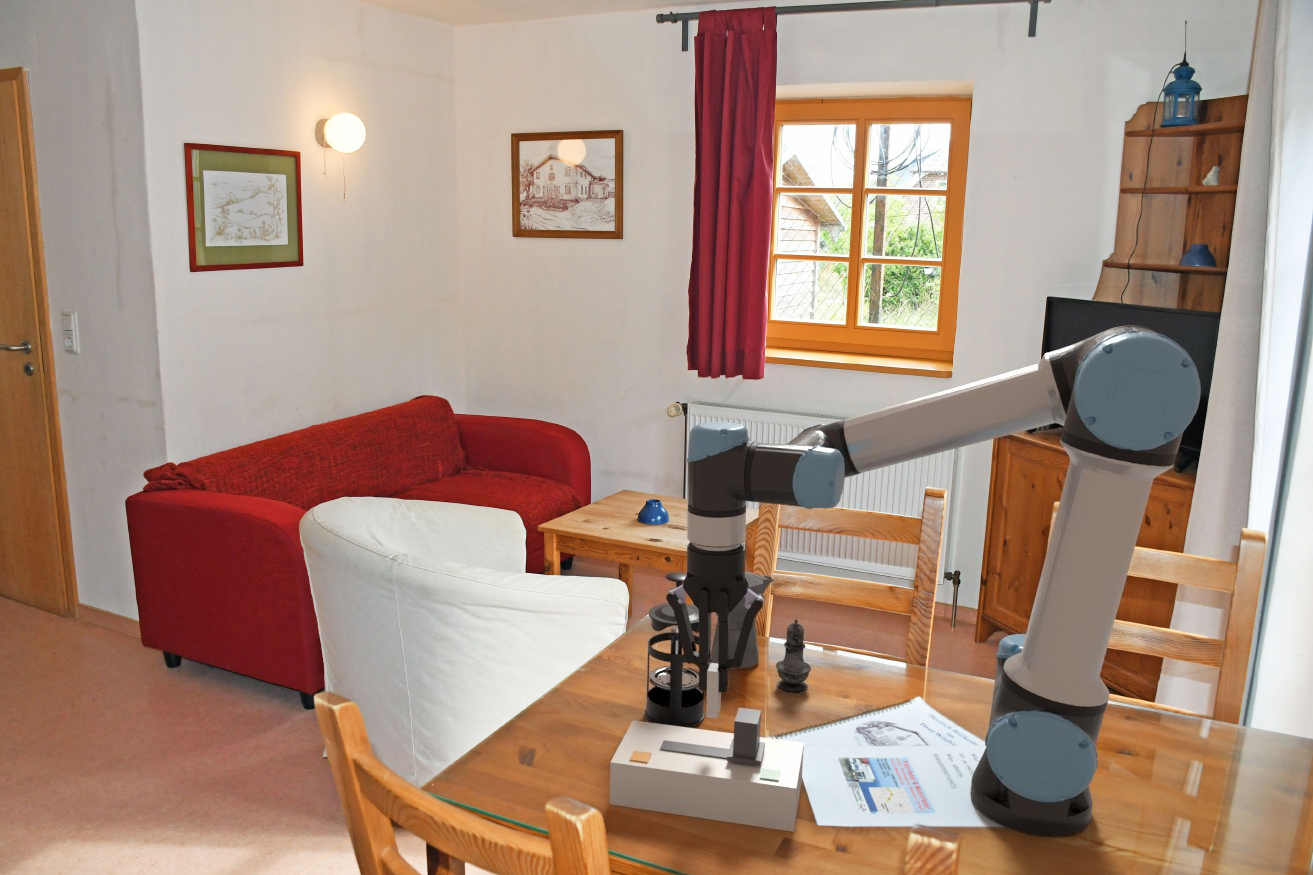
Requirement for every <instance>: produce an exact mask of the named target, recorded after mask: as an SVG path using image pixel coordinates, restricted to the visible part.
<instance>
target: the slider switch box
mask: <svg viewBox="0 0 1313 875" xmlns="http://www.w3.org/2000/svg"><path fill="white" fill-rule="evenodd" d="M732 739H734V732H733V733H731V732H726V731H725V732H724V731H717V730H709V729H703V728H702V729H701V728H694V727H691V728H687V727H680V726H672V725H664V724H657V723H650V722H649V721H640V720H632V721H631V724H629V727H628V729H627V731H626V733H625V734H624V736H623V738H622V740H621V742H620V744H619V746H618V748H617V749H616V751H615V753H614V754H613V756H612V759H611V760H610V764H609V770H610V771H609V772H610V773H609V805H612V806H619V807H626V808H631V809H632V808H633V809H638V810H645V811H652V812H659V813H665V814H673V815H679V816H684V817H685V816H686V817H691V818H693V817H694V818H699V819H705V820H712V821H719V822H724V823H731V824H737V825H738V824H739V825H744V826H753V827H757V828H758V827H759V828H765V829H771V830H779V831H784V832H793V833H794V832H795V827H796V822H797V821H796V820H797V814H798V810H799V809H798V808H799V802H800V796H801V788H802V783H803V782H802V781H803V764H804V748H805V742H802V741H801V742H800V741H793V740H792V741H791V740H785V739H779V738H770V737H762V736H760V742H764V743H765V749H764V753H763V758H762V762H761V765H754V764H747V763H740V762H732V761H727V755H728V752H729V749H730V745H731V742H732Z"/></svg>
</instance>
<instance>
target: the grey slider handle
mask: <svg viewBox="0 0 1313 875" xmlns="http://www.w3.org/2000/svg"><path fill="white" fill-rule="evenodd" d="M761 719H762V710H760V709H754V708H743V707H738V708H737V711H736V715H735V718H734V723H733V734H734V739H732V742H731V745H730V749H729V752H728V755H727V761H732V762H740V763H747V764H754V765H761V762H762V758H763V753H764V749H765V743H764V742H760V737H761V726H762V725H761V724H762V722H761V721H762V720H761Z"/></svg>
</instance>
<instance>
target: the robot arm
mask: <svg viewBox="0 0 1313 875" xmlns="http://www.w3.org/2000/svg"><path fill="white" fill-rule="evenodd" d="M1201 388H1202V387H1201V380H1200V377H1199V371H1198V369H1197V366H1196V364H1195V362H1194V361H1193V359H1192V357H1191V356H1190V354H1189V353H1188V351H1186V349H1185V348H1183V347H1182V346H1181V345H1180V344H1179V343H1178V342H1176V341H1175V340H1173V339H1172V338H1170V337H1168V336H1166V335H1164V334H1163V333H1162V332H1159V331H1157V330H1155V329H1153V328H1149V327H1146V326H1141V325H1131V324H1130V325H1128V324H1127V325H1122V326H1121V325H1120V326H1116V327H1112V328H1109V329H1106V330H1105V331H1102V332H1099V333H1097V334H1095V335H1092V336H1090V337H1088V338H1086V339H1084V340H1081V341H1078V342H1076V343H1073V344H1070V345H1068V346H1064V347H1061V348H1058V349H1056V350H1052V351H1049V352H1046V353H1044V354H1043V356H1042V357H1041V359H1040V361H1039V362H1038V363H1037V364H1033V365H1030V366H1025V367H1023V368H1020V369H1015V370H1011V371H1008V372H1005V373H1001V374H999V375H996V376H991V377H988V378H985V379H981V380H978V381H974V382H970V383H967V384H964V385H960V386H955V387H954V388H950V389H946V390H943V391H939V392H936V393H932V394H928V395H926V396H921V397H918V398H915V399H911V400H908V401H904V402H900V403H898V404H894V405H890V406H887V407H884V408H880V409H877V410H874V411H870V412H865V413H861V414H859V415H856V416H855V415H854V416H852V417H849V418H845V419H843V420H839V421H835V422H831V423H828V424H826V423H824V424H822V423H821V424H815V425H812V426H810V427H806V428H804V430H802V431H801V432H800V433H798V435H797V436H795V437H794V438H793V439H792V440H790V441H789V442H788V443H763V442H757V441H752V440H750V437H749V435H748V433H749V432H748V428H747V427H746V426H745V425H744V424H741V423H738V422H737V423H734V422H733V421H732V422H731V421H730V422H729V421H707V422H701V423H698V424H696V425H695V426H693V427H692V428H691V430H690V431H689V437H688V438H689V439H688V452H687V453H688V454H687V458H686V462H687V509H686V510H687V512H686V514H687V515H686V516H687V518H686V519H687V520H686V521H687V522H686V524H687V525H686V528H687V529H686V532H687V533H686V538H687V541H688V544H687V545H686V573H687V575H686V577H685V579H684V581H683V582H682V585H681V586H679V587H672V588H670V590H669V591H668V593H667V594H666V596H665V599H666V601H667V603H669V604H670V606H671V607H672V609H673V611H674V614H675V618H676V623H677V627H678V631H679V635H680V640H681V644H682V653H683V654H684V656H685V660H686V662H687V663H686V664H689V665H691V664H693V665H695V666H696V667H697V668H698V672H699V687H698V689H699V690H700V691H704V692H706V715H705V717H706V718H709V719H710V718H711V719H718V718H719V715H720V712H721V710H722V709H721V706H722V705H721V704H722V695H721V694H722V693H724V694H726V693H727V691H728V690H729V687H730V670H731V669H730V668H733V667H735V668H738V667H740V666H741V663H742V660H743V657H744V654H745V650H746V646H747V643H748V639H749V636H750V632H751V629H752V625H753V622H754V618H755V616H756V615H758V614H759V612H760V611H761V609H762V608H763V606H764V603H765V599H766V597H765V595H764V594H763V595H762V594H758V595H757V594H756V593H754V592H753V591H752V590H750V589H749V585H748V582H747V580H746V578H745V571H746V546H745V545H744V542H745V541H746V539H747V537H746V535H747V534H746V531H747V525H746V524H747V502H752V503H763V504H770V505H771V504H772V505H779V506H788V507H797V508H798V507H799V508H800V507H801V508H804V509H806V510H812V509H833V508H836V506H838V504H839V503H840V501H841V497H842V495H843V492H844V484H845V479H846V478H850V477H854V476H856V475H860V474H863V473H866V472H869V471H870V472H871V471H873V470H878V469H882V468H885V467H890V466H894V465H897V464H900V463H905V462H909V461H912V460H916V459H921V458H924V457H928V456H932V455H937V454H939V453H942V452H943V453H944V452H947V451H948V452H949V451H951V450H954V449H960V448H963V447H966V446H971V445H975V444H979V443H983V442H986V441H990V440H993V439H997V438H1002V437H1005V436H1006V437H1007V436H1010V435H1013V434H1017V433H1022V432H1026V431H1029V430H1032V429H1037V428H1040V427H1044V426H1048V425H1052V424H1059V425H1060V426H1063V427H1062V432H1061V436H1060V440H1059V444H1060V445H1061V446H1062V448H1063V449H1064V450H1065V452H1066V454H1067V455H1068V457H1069V463H1068V464H1069V465H1068V468H1067V472H1066V476H1065V479H1064V480H1065V481H1064V484H1063V488H1062V492H1061V496H1060V500H1059V502H1058V503H1059V504H1058V507H1057V511H1056V514H1055V515H1056V516H1055V519H1054V522H1053V527H1052V531H1051V534H1050V539H1049V543H1048V547H1047V551H1046V555H1045V559H1044V563H1043V566H1042V571H1041V574H1040V577H1039V582H1038V587H1037V590H1036V594H1035V598H1034V602H1033V605H1032V610H1031V614H1030V616H1029V617H1030V618H1029V621H1028V626H1027V630H1026V633H1018V634H1011V635H1007V636H1004V637H1003V638H1002V639H1000V641H999V643H998V649H997V653H996V654H995V658H996V666H995V667H996V669H995V679H994V685H993V686H994V688H993V694H992V700H991V701H992V702H991V709H990V716H989V724H988V729H987V732H986V735H985V739H984V745H985V750H984V751H983V753H982V755H981V757H980V759H979V761H978V763H977V766H976V767H975V770H974V771H973V774H972V777H971V782H970V783H971V784H970V793H969V794H970V799H971V801H972V803H973V805H974V806H975V807H976V809H977V810H978V811H979V812H981V814H983V815H984V816H986V817H987V818H988V819H990V820H992V821H993V822H995V823H997V824H999V825H1000V826H1003V827H1005V828H1008V829H1009V830H1013V831H1017V832H1020V833H1024V834H1027V835H1033V836H1037V837H1038V836H1039V837H1049V838H1050V837H1051V838H1052V837H1053V838H1058V837H1067V836H1073V835H1076V834H1079V833H1081V832H1083V831H1084V830H1085V829H1086V828H1088V827H1089V826H1090V824H1091V820H1092V814H1093V798H1092V794H1091V793H1092V792H1091V790H1090V784H1091V782H1092V781H1093V779H1094V777H1095V775H1096V774H1095V772H1096V771H1097V768H1098V764H1099V763H1098V762H1099V761H1098V755H1099V754H1098V751H1097V743H1098V738H1099V735H1100V731H1101V728H1102V724H1103V720H1104V717H1105V713H1106V709H1107V706H1108V702H1109V698H1110V691H1109V689H1108V687H1107V685H1106V684H1105V682H1103V680H1102V678H1101V677H1100V675H1101V672H1102V667H1103V665H1104V661H1105V657H1106V653H1107V650H1108V647H1109V646H1108V645H1109V642H1110V638H1111V635H1112V632H1113V628H1114V624H1115V620H1116V616H1117V613H1118V609H1119V606H1120V604H1121V603H1120V602H1121V599H1122V595H1123V592H1124V587H1125V584H1126V580H1127V577H1128V574H1129V569H1130V567H1131V562H1132V559H1133V555H1134V552H1135V549H1136V544H1137V541H1138V537H1139V533H1140V531H1141V526H1142V522H1143V520H1144V516H1145V512H1146V507H1147V504H1148V501H1149V498H1150V497H1149V496H1150V494H1151V490H1152V487H1153V482H1154V479H1155V478H1157V477H1158V476H1160V475H1161V474H1163V473H1165V472H1167V471H1169V470H1171V469H1173V467H1174V466H1175V462H1176V458H1177V455H1178V452H1179V448H1180V444H1181V441H1182V437H1183V434H1184V431H1185V430H1186V429H1187V427H1188V426H1189V425H1190V424H1191V423H1192V421H1193V419H1194V416H1195V415H1196V413H1197V411H1198V409H1199V405H1200V400H1201V391H1202V389H1201ZM687 597H689V598H690V600H691V602H692V604H693V603H694V604H695V606H696V607H697V608H698V609H699V633H698V636H699V645H698V649H697V644H695V640H694V636H693V635H694V633H693V632H694V631H692V628H691V623H690V619H689V615H688V610H687V606H686V604H687V603H686V600H687ZM743 597H745V599H746V602H745V607H746V608H747V612H746V615H745V618H744V622H743V625H742V629H741V632H740V636H739V639H738V643H737V647H736V650H735V654H734V655H730V623H731V611H732V610H733V609H734V608H735V607H736V605H737V604H738V603H739V602H740V601H741V599H742V598H743ZM712 613H715V614H716V613H718V616H717V620H718V621H719V652H718V663H713V662H711V660H710V659H711V650H712ZM756 617H757V616H756ZM755 619H756V618H755ZM697 651H699V652H697Z"/></svg>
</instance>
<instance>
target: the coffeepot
mask: <svg viewBox="0 0 1313 875" xmlns="http://www.w3.org/2000/svg"><path fill="white" fill-rule="evenodd" d="M745 578H746V580H747V582H748V585H749V589H750V590H752V591H753V592H754V593H756V594H757V595H758V594H762V595H763V596H764V593H765V591H766V590H767V589H768V587H769V585H770V584H771V583H772V582H774V581H775V580H774V579H773V578H772V577H771V576H768V575H765V574H756V573H754V572H752V571H746V570H745ZM745 602H746V599H745V597H743V598H742V599H741V601H740V602H739V603H738V604H737V605H736V607H735V608H734V609H733V610H732V611H731V623H730V655H734V654H735V650H736V647H737V643H738V639H739V636H740V632H741V629H742V625H743V622H744V618H745V615H746V612H747V608H746V607H745ZM692 605H695V604H694V603H693V602H692ZM715 615H716V616H717V617H718V613H715ZM757 615H758V614H757ZM757 615H756V616H755V618H754V622H753V625H752V629H751V632H750V636H749V639H748V643H747V646H746V650H745V654H744V657H743V660H742V663H741V666H740V667H738V668H735V667H733V668H730V669H729V670H745V669H746V670H747V669H749V668H750V669H751V668H754V667H756V666H757V665H758V664H759V661H760V652H759V643H758V636H757V635H758V634H757V625H756V619H757ZM716 621H717V622H716V624H715V630H714V636H713V639H712V640H713V642H712V644H711V659H710V662H711V663H718V652H719V621H718V619H717V620H716Z"/></svg>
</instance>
